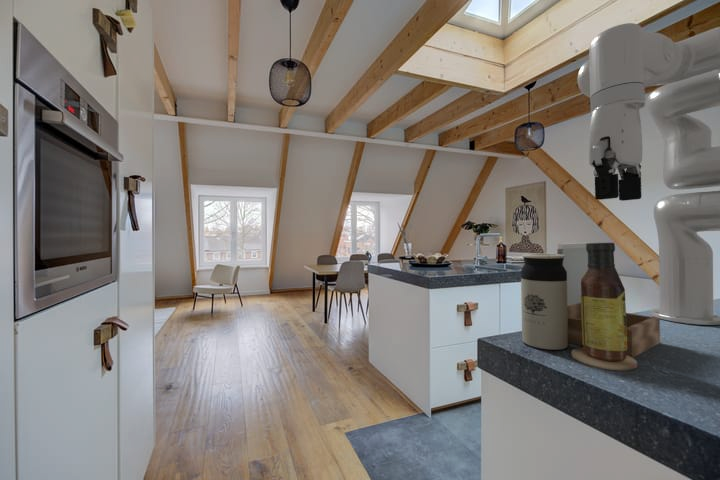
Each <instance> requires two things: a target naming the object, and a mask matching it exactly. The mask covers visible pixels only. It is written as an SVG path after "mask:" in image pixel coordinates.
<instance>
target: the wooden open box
mask: <svg viewBox="0 0 720 480" xmlns="http://www.w3.org/2000/svg"><path fill="white" fill-rule="evenodd" d="M567 314H568V344H569V343H570V344H574V345H578V346H581V347H584V345H583V341H582V316H581V303H578V304H574V305H570V306H567ZM626 327H627V350H626V354H627V355H628V356H630V357H632V358H633V359H634V358H635V357H637V356H639V355H641V354H642V353H644V352H646V351H648V350H650V349H651V348H653V347H655V346H657V345H659V344H660V343H661V329H660V327H661V321H660V318H657V317H654V316H649V315H643V314H642V315H641V314H636V313H630V312H626Z"/></svg>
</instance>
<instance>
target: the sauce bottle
mask: <svg viewBox="0 0 720 480" xmlns="http://www.w3.org/2000/svg"><path fill="white" fill-rule="evenodd" d="M585 243H586V250H587V253H588V264H587V266H588V270H587V272H586V273H585V275H584V276H583V278H582V280H581V316H582V341H583V345H584V346H583V348H584V352H585V353H586V354H587V355H589V356H591V357H593V358H596V359H600V360H607V361H622V360H624V359H626V355H627V354H626V350H627V327H626V313H627V309H626V308H627V307H626V289H625V287H624V284H623V282H622V279H621V277H620V276H619V273H618V271H617V269H616V264H615V256H614V255H615V254H614V253H615V250H616V247H615V242H585Z"/></svg>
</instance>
